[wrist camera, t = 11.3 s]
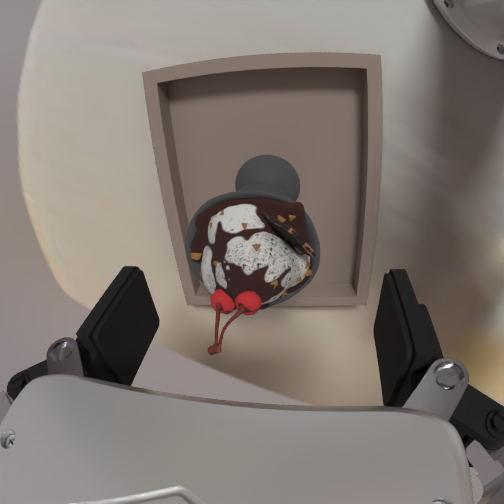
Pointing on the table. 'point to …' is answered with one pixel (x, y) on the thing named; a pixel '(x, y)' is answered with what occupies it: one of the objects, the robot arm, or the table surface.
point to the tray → (276, 152)
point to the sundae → (253, 241)
